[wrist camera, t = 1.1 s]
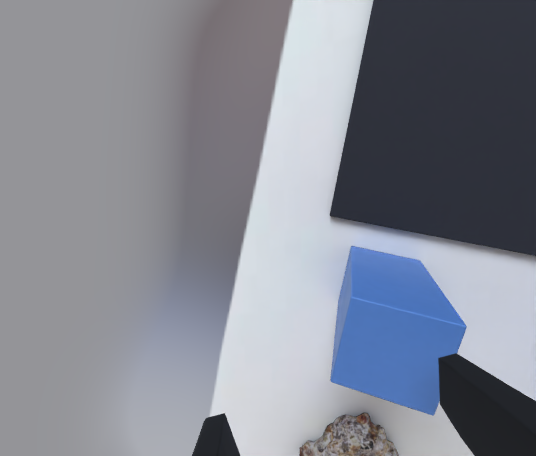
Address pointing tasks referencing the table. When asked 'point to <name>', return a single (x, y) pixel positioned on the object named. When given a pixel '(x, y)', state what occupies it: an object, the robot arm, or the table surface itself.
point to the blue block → (393, 330)
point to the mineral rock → (351, 439)
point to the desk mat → (445, 123)
